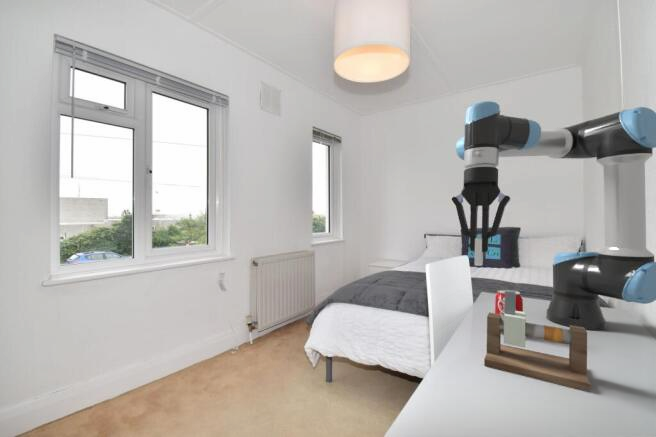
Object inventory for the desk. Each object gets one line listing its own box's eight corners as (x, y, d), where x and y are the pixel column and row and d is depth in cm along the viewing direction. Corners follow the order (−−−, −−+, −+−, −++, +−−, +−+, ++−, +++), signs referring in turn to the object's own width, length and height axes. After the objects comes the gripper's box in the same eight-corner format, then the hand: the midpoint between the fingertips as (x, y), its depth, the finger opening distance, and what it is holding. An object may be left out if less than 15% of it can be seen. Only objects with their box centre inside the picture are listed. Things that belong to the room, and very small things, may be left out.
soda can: (526, 338, 86) (527, 295, 86) (499, 335, 87) (499, 293, 88) (516, 329, 93) (517, 289, 93) (491, 327, 94) (491, 288, 94)
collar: (505, 335, 74) (506, 288, 74) (525, 338, 72) (526, 290, 72) (503, 343, 69) (504, 293, 69) (524, 347, 67) (525, 295, 67)
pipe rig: (490, 348, 78) (491, 308, 79) (581, 367, 68) (581, 322, 69) (484, 365, 68) (484, 320, 69) (589, 391, 58) (590, 339, 59)
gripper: (449, 167, 76) (446, 263, 75) (510, 163, 68) (508, 269, 68) (455, 172, 82) (453, 261, 81) (512, 168, 75) (510, 266, 74)
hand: (478, 265), depth 75 cm, fingers closed
